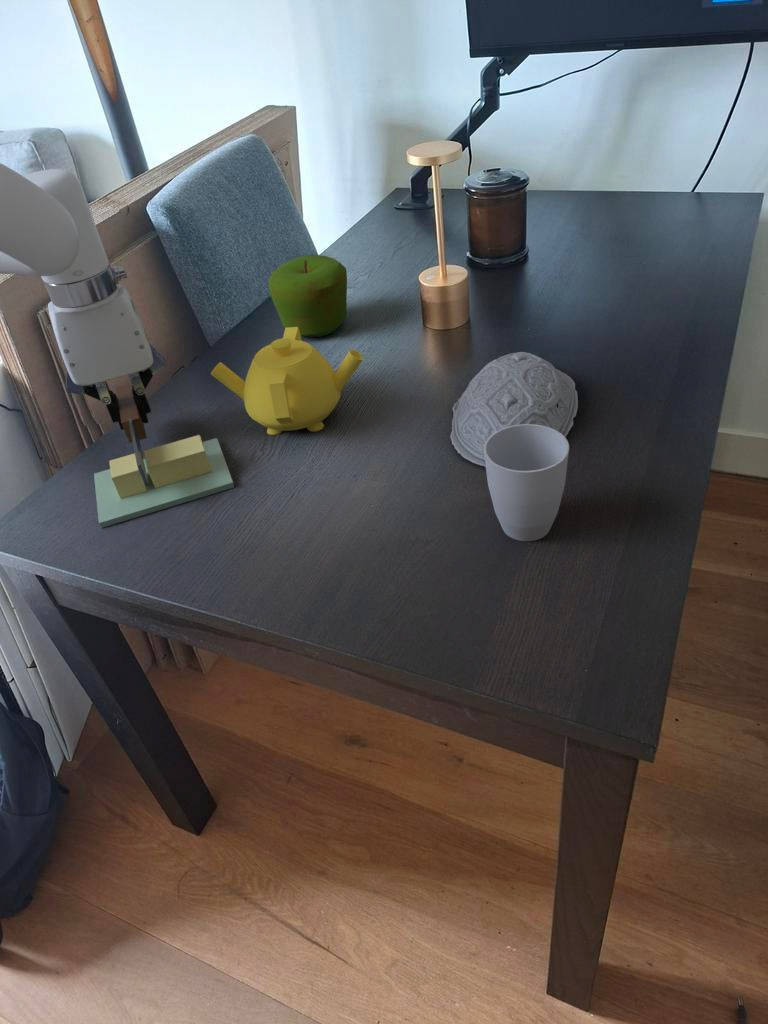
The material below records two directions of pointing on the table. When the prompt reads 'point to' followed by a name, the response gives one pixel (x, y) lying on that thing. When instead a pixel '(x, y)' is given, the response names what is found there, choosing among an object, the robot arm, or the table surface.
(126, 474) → the block
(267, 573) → the table surface
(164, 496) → the butter dish
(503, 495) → the cup
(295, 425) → the teapot
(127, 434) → the knife
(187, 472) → the butter block
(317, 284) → the apple
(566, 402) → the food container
